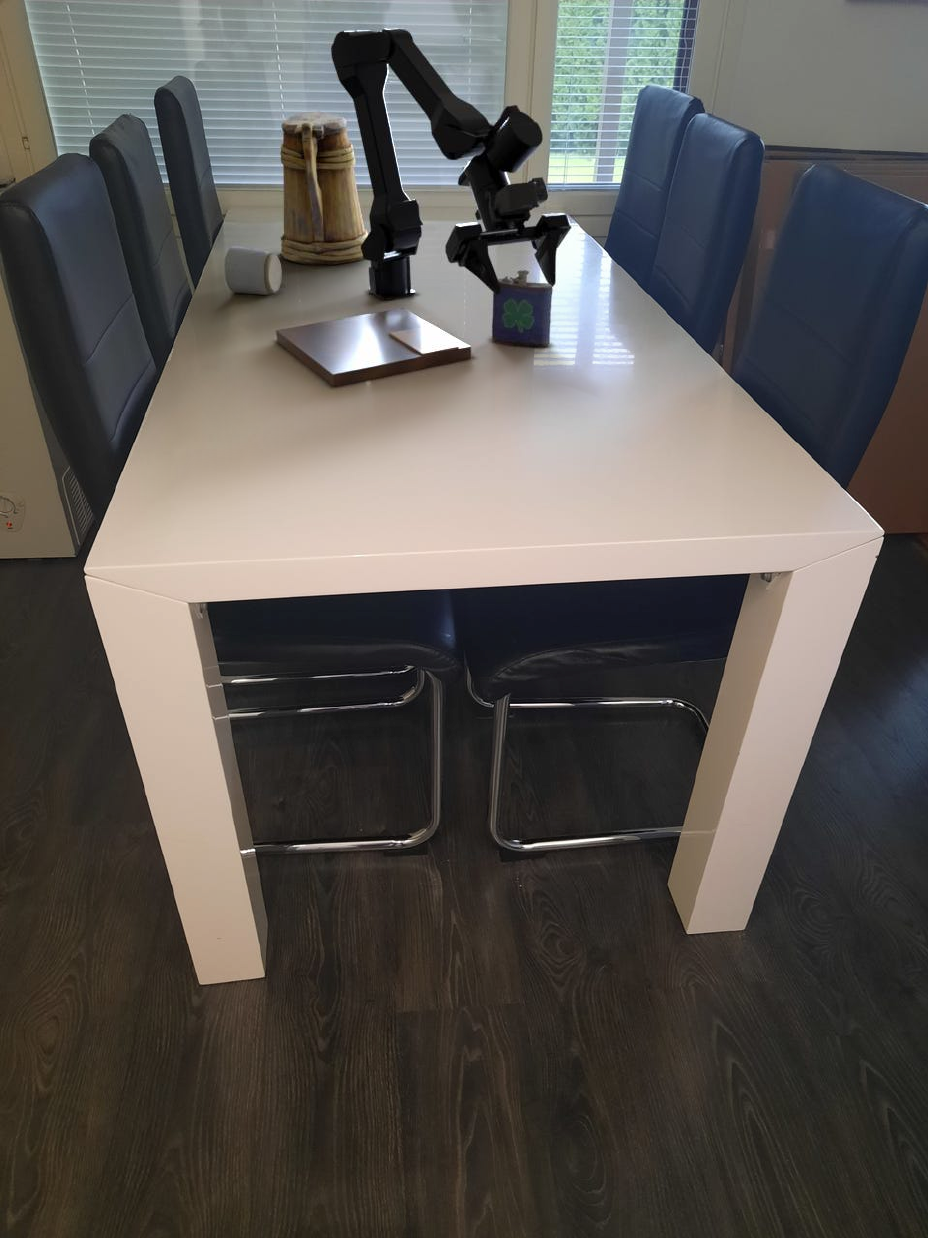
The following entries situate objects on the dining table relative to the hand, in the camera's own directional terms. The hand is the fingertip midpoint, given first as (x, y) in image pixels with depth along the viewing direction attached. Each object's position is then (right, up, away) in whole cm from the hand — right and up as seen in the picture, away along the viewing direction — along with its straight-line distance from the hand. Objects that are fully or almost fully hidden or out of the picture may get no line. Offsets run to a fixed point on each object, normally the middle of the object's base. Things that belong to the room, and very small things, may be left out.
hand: (526, 289), depth 126 cm
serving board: (-23, -8, +3) cm, 25 cm away
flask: (-1, -6, +6) cm, 9 cm away
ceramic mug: (-47, +11, +29) cm, 56 cm away
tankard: (-37, +25, +48) cm, 66 cm away
